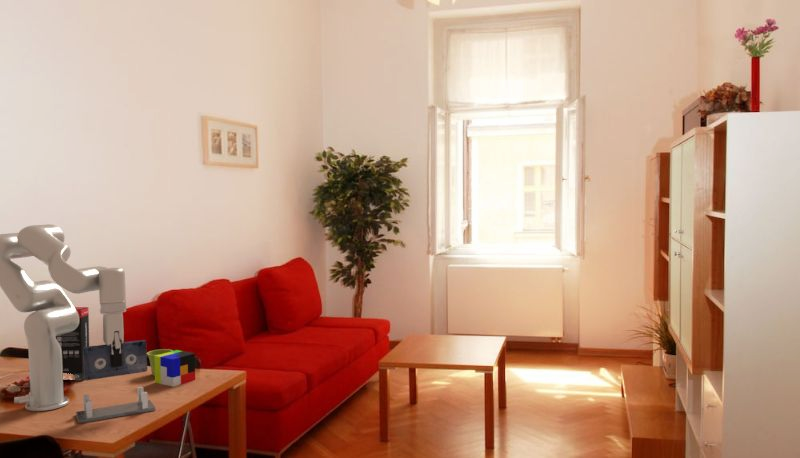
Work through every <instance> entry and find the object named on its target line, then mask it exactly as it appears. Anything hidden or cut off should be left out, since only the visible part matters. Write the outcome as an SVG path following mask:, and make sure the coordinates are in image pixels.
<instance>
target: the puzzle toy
mask: <svg viewBox="0 0 800 458" xmlns="http://www.w3.org/2000/svg"><path fill="white" fill-rule="evenodd" d="M195 356H196V354H195V353H194V352H189V351H183V350H178V349H175V350H172V351H171V352H167V353H164V354H160V355H156V356H154V361H155V376H154V383H155V384H160V385H164V386H170V387H172V388H173V387H176V386H179V385H183V384H186V383H189V382H193V381H196V357H195Z"/></svg>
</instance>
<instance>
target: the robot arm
mask: <svg viewBox="0 0 800 458" xmlns="http://www.w3.org/2000/svg"><path fill="white" fill-rule="evenodd" d="M64 242H65V233H64V232H63V230H62V228H60V227H59V226H57V225H54V224H36V225H29V226H28V225H27V226H26V227H23V228H21V229H20V231H19V232H11V233H0V288H1V290H2V292H3V293H4V294H5V296H6V297H7V299H8V300H9V301H10V303H11V304H12V306H13V307H14V308H15V310H17V311H18V312H20V313H30V314H28V315H27V316H26V318H25V320H24V322H23V330H24V334H25V337H26V341H27V347H28V348H27V349H28V367H29V368H28V369H29V392H28V394H25V396H14V399H13V403H14V404H18V405H21V404H25V408H24V409H25V410H27V411H30V412H43V411H51V410H56V409H59V408H62V407H64V406H67V405H68V404H69V403H70V399H69V397H67V396H64V381H63V369H62V350H61V346H60V344H59V343H58V341H57V339H56V336H58V335H62V334H66V333H69V332H72V331H73V330H75V329H76V328H77V327H78V325H79V315H78V312H77V310H76V309H75V307H76V306H74V304H73V303H72V301H71V300H70V298H69V297H68V296H67V294H66V293H65V291H64V290H66V291H67V292H69V293H72V294H79V295H80V294H84V293H88V292H90V293H91V292H95V291H99V293H98V295H99V296H98V297H99V314H101V315H102V340H103V342H104V345H105V344H106V345H107V346H109V344H111V355H110V360H111V367H119V366H122V353H121V344H123V342H125V341H124V340H125V339H124V337H125V336H124V334H125V333H124V332H125V331H124V330H125V329H124V315H123V313H125V312H127V297H126V293H127V292H126V275H125V274H126V273H125V270H124V269H123V268H121V267H104V266H91V267H85V268H84V267H83V268H78V269H77V268H75V267H73V266H72V265H70V264H69V263H68V262H67V261H68V260H69V258H70V257H71V253H72V252H71V248H70V247H69V246H68V244H66V243H64ZM30 257H35V259H38V261H41V262H42V263H43V264H44V265H46V266H47V267H48V272H49V276H50V277H51V279H52V280H38V281H34V280H33V279H31V277H30V276H29V275H28V273H27V272H26V271H25V270H24V269H23V268H22V267H21V266H20V265H19V264H17V263H15V262H14V261H12V259H22V258H30ZM62 288H63V289H64V290H63V289H62ZM37 310H38V311H37ZM114 343H115V344H114ZM113 347H114V348H113Z"/></svg>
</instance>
